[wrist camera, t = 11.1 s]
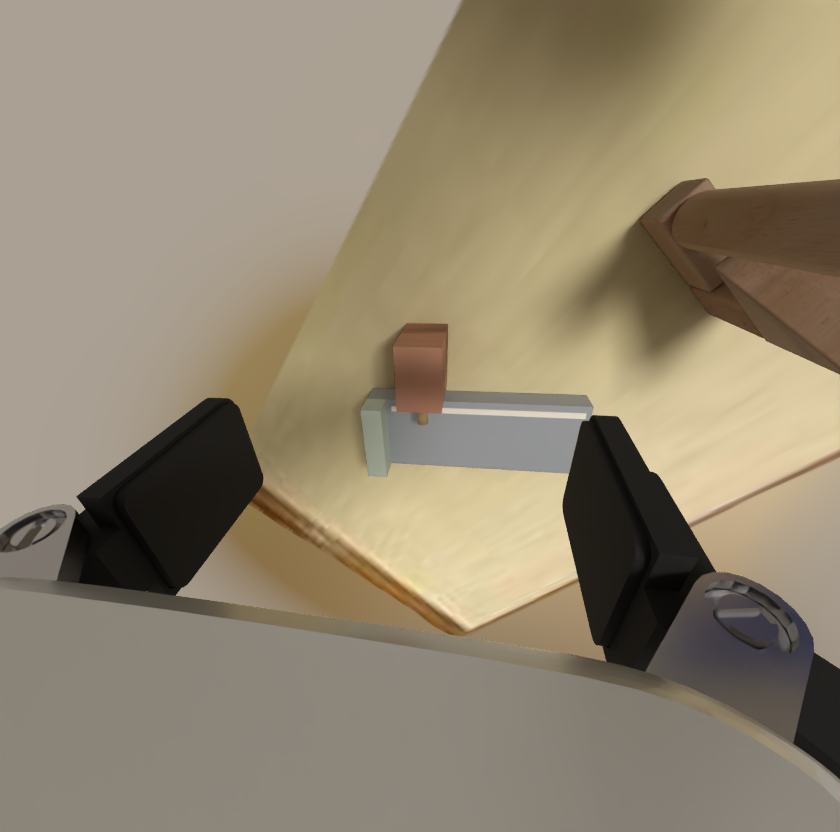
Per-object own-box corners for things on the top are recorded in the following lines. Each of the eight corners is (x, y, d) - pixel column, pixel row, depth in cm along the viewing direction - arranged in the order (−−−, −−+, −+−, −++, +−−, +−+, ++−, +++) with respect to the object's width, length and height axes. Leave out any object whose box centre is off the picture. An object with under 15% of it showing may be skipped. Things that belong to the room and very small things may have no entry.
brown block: (406, 323, 35) (392, 346, 29) (447, 323, 35) (442, 347, 29) (409, 401, 39) (397, 435, 33) (446, 402, 39) (441, 437, 33)
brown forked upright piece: (708, 316, 31) (937, 421, 16) (636, 220, 29) (825, 232, 13) (754, 283, 30) (1060, 365, 14) (682, 178, 27) (962, 136, 11)
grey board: (373, 388, 39) (360, 410, 35) (586, 395, 36) (601, 420, 32) (379, 449, 43) (368, 475, 39) (572, 459, 40) (583, 489, 36)
